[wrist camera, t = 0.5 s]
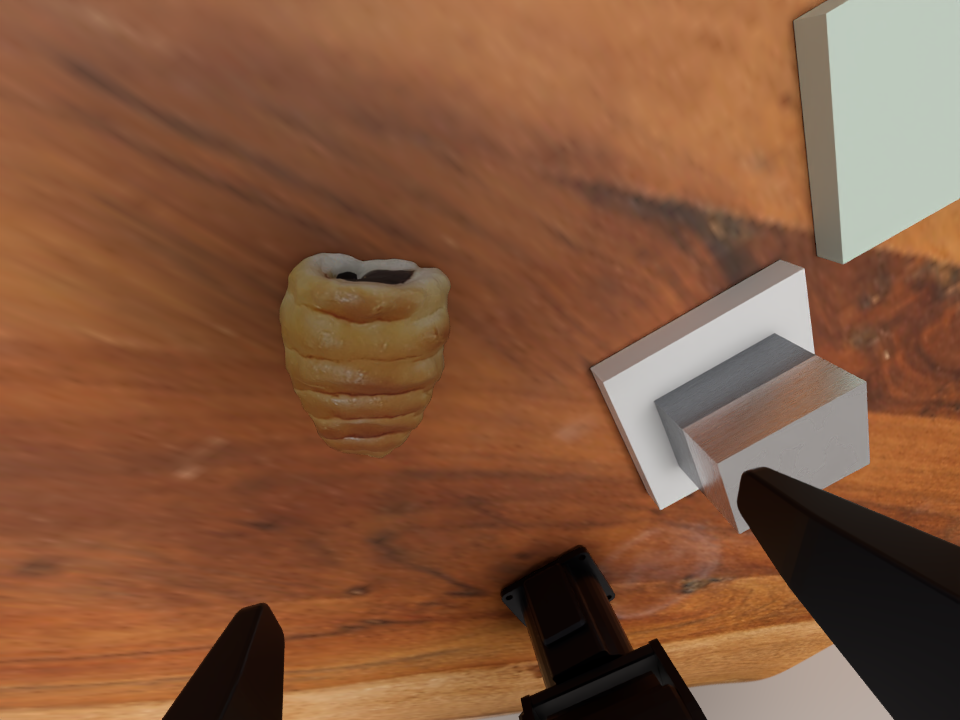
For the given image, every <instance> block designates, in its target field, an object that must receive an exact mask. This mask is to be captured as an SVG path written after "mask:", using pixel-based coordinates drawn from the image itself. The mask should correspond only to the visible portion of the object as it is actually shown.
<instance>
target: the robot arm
mask: <svg viewBox="0 0 960 720" xmlns="http://www.w3.org/2000/svg"><path fill="white" fill-rule="evenodd" d="M737 507H738V510H739V512H740V514H741V516H742V517H743V519H744V520H745V522H746V523H747V525H748V526H749V528H750V529H751V531H752V532H753V534H754V535H755V537H756V538H757V540H758V541H759V543H760V544H761V546H762V547H763V549H764V551H765V552H766V554H767V555H768V557H769V558H770V560H771V561H772V563H773V564H774V566H775V567H776V569H777V570H778V572H779V573H780V575H781V576H782V578H783V579H784V580H785V582H786V583H787V585H788V586H789V588H790V589H791V590H792V591H793V593H794V594H795V595H796V597H797V598H798V599H799V601H800V602H801V603H802V604H803V606H804V607H805V608H806V609H807V611H808V612H809V613H810V614H811V616H812V617H813V618H814V619H815V621H816V622H817V623H818V624H819V626H820V627H821V628H822V629H823V631H824V632H825V633H826V635H827V636H828V637H829V638H830V640H831V641H832V642H833V643H834V645H835V646H836V647H837V648H838V650H839V651H840V652H841V653H842V655H843V656H844V657H845V658H846V660H847V661H848V662H849V663H850V665H851V666H852V667H853V668H854V670H855V671H856V672H857V673H858V675H859V676H860V677H861V679H862V680H863V681H864V682H865V684H866V685H867V686H868V687H869V688H870V690H871V691H872V692H873V694H874V695H875V696H876V697H877V698H878V700H879V701H880V702H881V704H882V705H883V706H884V707H885V709H886V710H887V711H888V712H889V713H890V715H891V716H892V717H893V719H894V720H960V546H957V545H955V544H952V543H950V542H947V541H945V540H943V539H940V538H938V537H935V536H933V535H931V534H928V533H926V532H923V531H921V530H918V529H916V528H914V527H911V526H909V525H906V524H904V523H901V522H899V521H897V520H894V519H892V518H889V517H887V516H885V515H882V514H880V513H877V512H875V511H872V510H870V509H868V508H865V507H863V506H860V505H858V504H855V503H853V502H851V501H848V500H846V499H843V498H841V497H838V496H836V495H834V494H831V493H829V492H826V491H824V490H822V489H819V488H817V487H814V486H812V485H809V484H807V483H805V482H802V481H800V480H797V479H795V478H792V477H790V476H788V475H785V474H783V473H780V472H778V471H775V470H773V469H771V468H768V467H757V468H753V469H750V470H746V471H744V472H743V473H742V475H741V479H740V485H739V490H738V496H737ZM500 595H501V598H502V601H503V602H504V603H505V604H506V605H507V607H508V608H509V609H510V610H511V611H512V612H513V613H514V614H515V615H516V616H517V617H518V619H519V620H520V621H521V622H522V623H523V624H524V625H525V626H526V627H527V630H528V633H529V636H530V639H531V642H532V645H533V649H534V652H535V655H536V658H537V661H538V664H539V667H540V671H541V674H542V677H543V680H544V683H545V686H546V689H545V690H543V691H540V692H538V693H536V694H534V695H531V696H530V695H527V696H525V697H522V698H521V703H522V708H523V712H522V713H521V714H520V716H519V720H707V719H706V717H705V715H704V714H703V712H702V710H701V708H700V706H699V705H698V703H697V701H696V700H695V698H694V697H693V695H692V693H691V692H690V690H689V689H688V687H687V685H686V684H685V682H684V681H683V679H682V677H681V676H680V674H679V673H678V671H677V669H676V668H675V666H674V665H673V663H672V662H671V660H670V658H669V657H668V655H667V654H666V652H665V650H664V649H663V647H662V646H661V644H660V642H659V641H658V639H657V638H656V639H654V640H651V641H649V644H647V645H645V646H642V647H640V648H638V649H636V650H633V648H632V646H631V644H630V642H629V640H628V638H627V636H626V634H625V632H624V630H623V628H622V626H621V624H620V622H619V620H618V618H617V616H616V614H615V612H614V610H613V608H612V606H611V604H610V601H611V600H613V599H614V597H615V594H614V592H613V590H612V588H611V587H610V585H609V584H608V582H607V580H606V579H605V577H604V576H603V574H602V573H601V571H600V570H599V568H598V566H597V565H596V563H595V562H594V560H593V559H592V557H591V556H590V554H589V552H588V551H587V549H586V548H583V547H581V548H578V549H576V550H574V551H572V552H570V553H568V554H567V555H565V556H563V557H561V558H559V559H558V560H556V561H554V562H552V563H550V564H548V565H547V566H545V567H543V568H541V569H539V570H538V571H536V572H534V573H532V574H530V575H528V576H527V577H525V578H523V579H521V580H519V581H518V582H516V583H514V584H512V585H510V586H508V587H507V588H505V589H503V590H502V591H501V594H500ZM284 648H285V642H284V634H283V631H282V628H281V627H280V625H279V623H278V621H277V620H276V618H275V616H274V614H273V612H272V611H271V609H270V607H269V606H268V605H267V604H266V603H259V604H255V605H252V606H248V607H245V608H242V609H241V610H239V611H238V612H237V613H236V615H235V616H234V617H233V619H232V620H231V622H230V623H229V624H228V626H227V627H226V629H225V630H224V632H223V633H222V634H221V636H220V637H219V639H218V640H217V641H216V643H215V644H214V646H213V647H212V649H211V650H210V651H209V653H208V654H207V656H206V657H205V659H204V660H203V661H202V663H201V664H200V666H199V667H198V669H197V670H196V671H195V673H194V674H193V676H192V677H191V678H190V680H189V681H188V683H187V684H186V686H185V687H184V688H183V690H182V691H181V693H180V694H179V696H178V697H177V698H176V700H175V701H174V703H173V704H172V706H171V707H170V708H169V710H168V711H167V713H166V714H165V716H164V717H163V718H162V720H282V709H283V679H284Z"/></svg>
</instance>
